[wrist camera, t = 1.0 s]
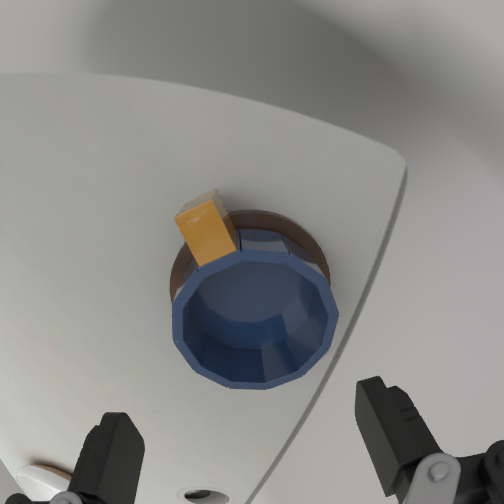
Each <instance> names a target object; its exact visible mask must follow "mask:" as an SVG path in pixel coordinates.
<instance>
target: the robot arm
mask: <svg viewBox="0 0 504 504" xmlns="http://www.w3.org/2000/svg"><path fill="white" fill-rule="evenodd" d="M355 417H356V422H357V425H358V427H359V430H360V432H361V435H362V437H363V440H364V442H365V445H366V447H367V450H368V452H369V455H370V457H371V460H372V462H373V465H374V467H375V470H376V473H377V475H378V478H379V480H380V483H381V485H382V488H383V491H384V493H385V496H386V497H388V496H391V495H393V494H396V497H397V499H398V504H504V440H500V441H497V442H495V443H494V444H492V445H491V446H490V447H489V449H488V450H487V451H486V453H481V454H477V455H472V456H467V457H453V456H452V455H450V454H446V453H444V452H443V451H442V450H441V449H440V447H439V446H438V444H437V443H436V441H435V439H434V437H433V436H432V434H431V432H430V431H429V429H428V427H427V425H426V424H425V422H424V420H423V419H422V417H421V416H420V415H419V412H418V410H417V409H416V407H414V404H413V402H412V401H411V399H410V397H409V396H408V394H407V393H406V392H404V391H403V390H401V389H400V388H398V387H397V386H393V387H390V388H387V387H386V386H385V384H384V382H383V380H382V379H381V377H379V376H375V377H372V378H368V379H365V380H361V381H358V382H357V386H356V399H355ZM144 452H145V445H144V440H143V438H142V436H141V435H140V433H139V432H138V430H137V428H136V427H135V425H134V424H133V422H132V421H131V419H130V418H129V416H128V415H127V414H126V413H124V412H106V413H105V414H104V415H103V417H102V420H101V422H100V425H99V426H98V425H95V427H94V428H93V429H92V430H91V431H90V432H89V433H88V435H87V437H86V439H85V442H84V444H83V448H82V450H81V452H80V457H79V458H78V461H77V463H76V466H75V469H74V472H73V475H72V478H71V480H70V483H69V486H68V489H67V490H66V491H63V492H59V493H57V494H56V495H54V496H53V498H52V499H51V501H31V500H30V499H29V498H28V497H27V496H25V495H24V494H20V493H17V494H13V495H11V496H10V497H9V498H8V499H7V501H6V503H5V504H134V502H135V497H136V491H137V486H138V481H139V476H140V471H141V466H142V462H143V457H144Z"/></svg>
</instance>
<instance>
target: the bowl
mask: <svg viewBox="0 0 504 504" xmlns="http://www.w3.org/2000/svg"><path fill="white" fill-rule="evenodd" d="M71 478H72V476H71V475H69V474H67V473H65V472H63V471H61V470H59V469H56V468H54V467H50V466H42V465H37V464H36V465H25V466H23V467H22V468H21V469H19V470H18V472H17V473H16V475H15V480H16V482H17V483H18V485H19V486H20V487H21V488H22V489H23V490H24V491H25V492H26V493H28V494H29V495H30V496H31V497H33V498H34V499H36V500H37V501H51V499H52V498H53V496H54V495H56V494H57V493H59V492H63V491H66V490H67V489H68V486H69V483H70V480H71Z"/></svg>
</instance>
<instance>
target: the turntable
mask: <svg viewBox="0 0 504 504" xmlns="http://www.w3.org/2000/svg"><path fill="white" fill-rule="evenodd" d="M228 214H229V216H230V218H231V220H232V222H233V224H234V226H235V228H236V230H237V229H239V230H240V229H262V230H269V231H273V232H279V233H282V234H283V235H284V236H286V237H287V238H289V239H291V240H292V241H294V242H295V243H296V244H297V245H299V246H300V247H301V248H303V249H304V250H305V251H307V252H308V253H309V254H310V255H311V257H312V258H313V260H314V261H315V263H316V264H317V266H318V267H319V269H320V270H321V271H322V273H323V274H324V276H325V277H326V279H327V281H328V284H329V286H330V273H329V268H328V264H327V261H326V258H325V256H324V254H323V252H322V250H321V248H320V247H319V246H318V244H317V243H316V242H315V240H314V239H313V238H312V237H311V236H310V235H309V234H308V232H307V231H306V230H305V229H303V228H302V227H301V226H299V225H298V224H297V223H295V222H294V221H292V220H290V219H288V218H286V217H284V216H281V215H279V214H276V213H272V212H268V211H261V210H241V211H235V212H230V213H228ZM193 258H194V256H193V254H192V252H191V250H190V248H189V246H188V245H187V243H186V242H185V243H184V245H183V246H182V248H181V250H180V252H179V254H178V256H177V258H176V260H175V262H174V265H173V268H172V271H171V278H170V296H171V302H172V304H173V300H174V297H175V295H176V292H177V289H178V286H179V284H180V281H181V278H182V276H183V273H184V272H185V270H186V269H187V268H188V266H189V265H190V263H191V261H192V259H193Z"/></svg>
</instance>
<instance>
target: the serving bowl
mask: <svg viewBox="0 0 504 504" xmlns="http://www.w3.org/2000/svg"><path fill="white" fill-rule="evenodd" d="M174 220H175V222H176V223H177V225H178V227H179V229H180V231H181V233H182V235H183V237H184V239H185V241H186V243H187V245H188V246H189V248H190V250H191V252H192V254H193V256H194V258H193V259H192V261H191V263H190V265H189V266H188V268H187V269H186V270H185V272H184V273H183V276H182V278H181V281H180V284H179V286H178V289H177V292H176V295H175V297H174V300H173V304H172V334H173V341H174V344H175V345H176V347H177V348H178V350H179V351H180V352H181V354H182V355H183V357H184V358H185V359H186V361H187V362H188V364H189V365H190V366H191V368H192V369H193V370H195V372H196V373H198V374H200V375H202V376H204V377H206V378H208V379H210V380H212V381H214V382H216V383H218V384H220V385H222V386H225V387H229V388H231V389H255V390H266V389H271V388H273V387H276V386H279V385H281V384H284V383H287V382H289V381H292V380H295V379H297V378H300V377H302V375H305V374H306V373H307V372H308V371H309V370H310V369H311V368H312V367H313V366H314V365H315V364H316V363H317V362H318V361H319V360H320V359H321V358H322V357H323V356H324V355H325V354H326V353H327V352H328V350H329V349H328V348H330V346H331V342H332V339H333V335H334V332H335V328H336V324H337V320H338V317H339V315H338V314H339V312H338V309H337V306H336V303H335V300H334V298H333V295H332V292H331V289H330V286H329V284H328V281H327V279H326V277H325V276H324V274H323V273H322V271H321V270H320V269H319V267H318V266H317V264H316V263H315V261H314V260H313V258H312V257H311V255H310V254H309V253H308V252H307V251H305V250H304V249H303V248H301V247H300V246H299V245H297V244H296V243H295V242H294V241H292V240H291V239H289V238H287V237H286V236H284V235H283V234H282V233H279V232H273V231H269V230H262V229H240V230H239V229H237V230H236V228H235V226H234V224H233V222H232V220H231V218H230V216H229V214H228V212H227V210H226V208H225V206H224V203H223V201H222V199H221V197H220V195H219V193H218V191H217V189H215V190H213V191H211V192H208V193H206V194H204V195H202V196H200V197H198V198H196V199H194V200H192V201H190V202H188V203H186V204H185V205H184V206H183V208H182V209H181V210H180V211H179V213H178V214H177V215H176V216H175V217H174Z"/></svg>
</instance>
